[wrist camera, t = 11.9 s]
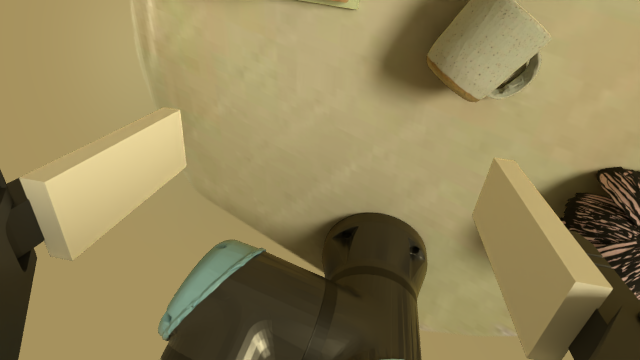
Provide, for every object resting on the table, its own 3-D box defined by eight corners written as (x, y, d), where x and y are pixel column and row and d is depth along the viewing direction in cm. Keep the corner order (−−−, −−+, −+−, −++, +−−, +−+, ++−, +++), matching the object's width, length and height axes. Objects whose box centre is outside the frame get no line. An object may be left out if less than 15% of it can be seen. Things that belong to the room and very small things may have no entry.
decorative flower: (800, 275, 30) (641, 362, 33) (682, 238, 41) (572, 305, 44) (695, 149, 30) (546, 246, 33) (607, 146, 42) (502, 219, 44)
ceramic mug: (417, 53, 36) (423, 70, 29) (477, -21, 32) (500, -21, 25) (491, 111, 38) (512, 139, 31) (557, 48, 33) (597, 65, 27)
